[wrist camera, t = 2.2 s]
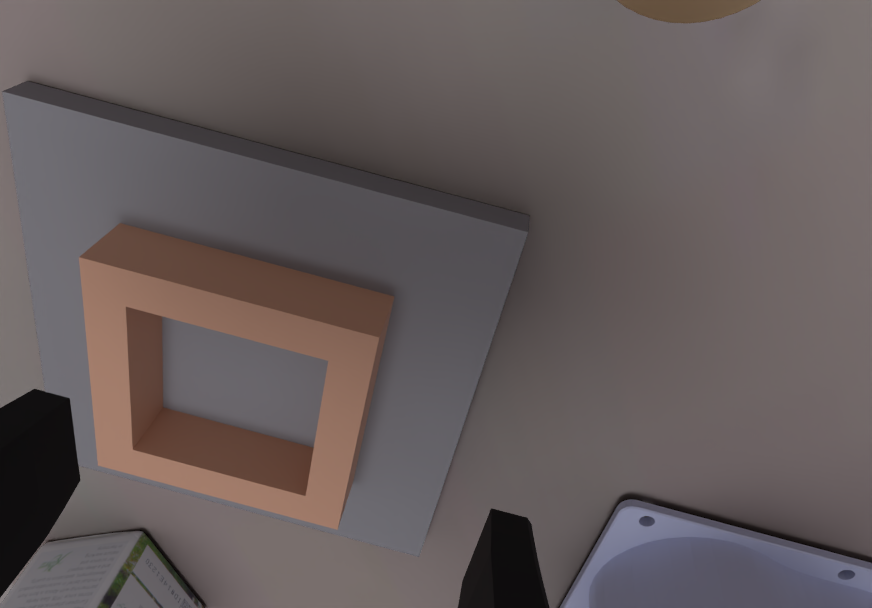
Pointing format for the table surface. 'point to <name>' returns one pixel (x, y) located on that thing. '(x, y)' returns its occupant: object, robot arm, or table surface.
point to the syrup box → (100, 576)
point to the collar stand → (254, 314)
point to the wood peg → (686, 9)
